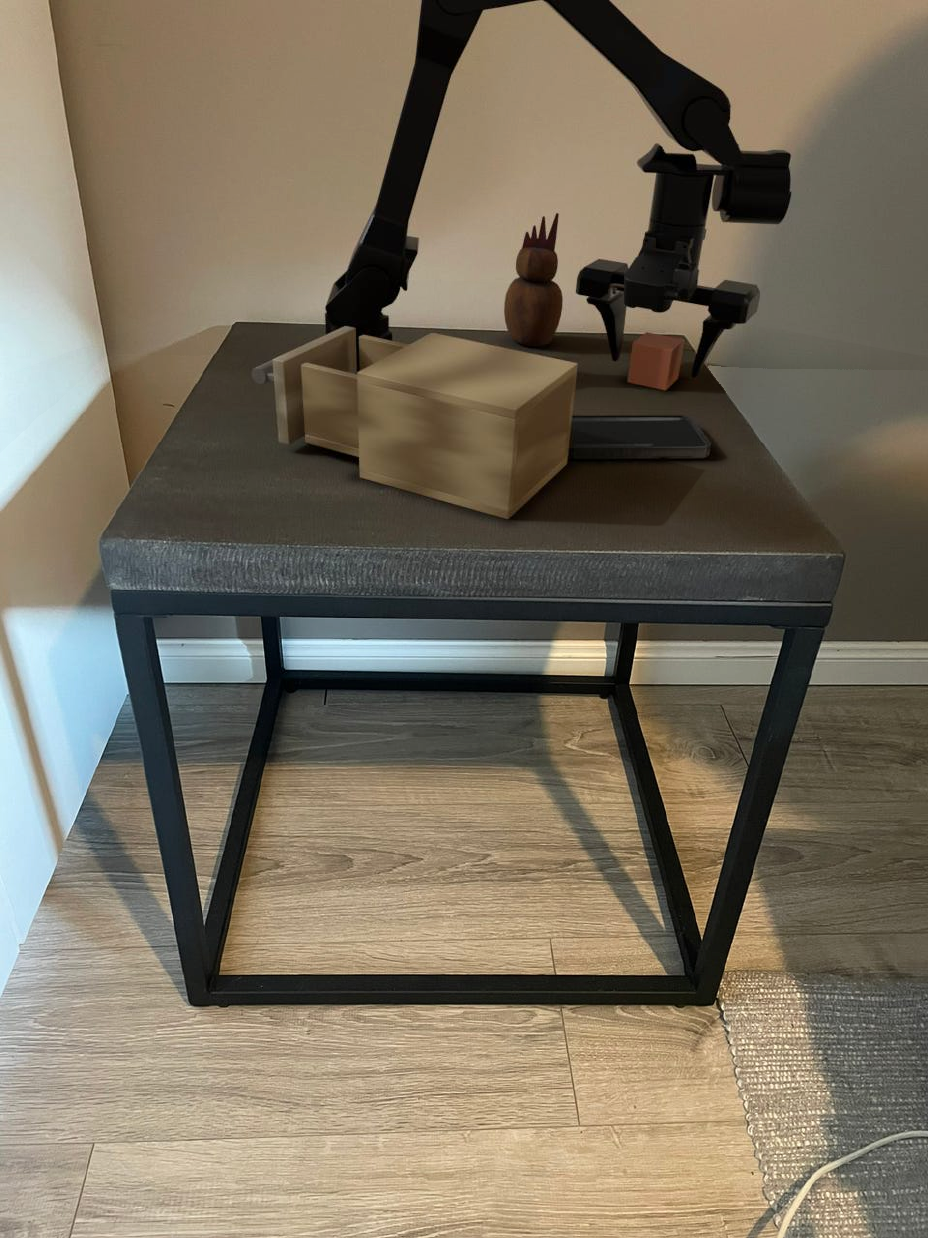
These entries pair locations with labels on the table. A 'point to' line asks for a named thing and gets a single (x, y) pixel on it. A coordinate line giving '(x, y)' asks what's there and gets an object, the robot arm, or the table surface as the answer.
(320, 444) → the drawer
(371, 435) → the cabinet
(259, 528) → the table surface
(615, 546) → the table surface
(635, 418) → the phone
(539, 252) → the wooden figurine
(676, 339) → the block
